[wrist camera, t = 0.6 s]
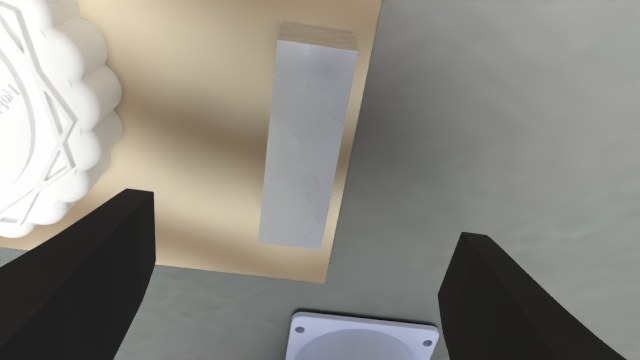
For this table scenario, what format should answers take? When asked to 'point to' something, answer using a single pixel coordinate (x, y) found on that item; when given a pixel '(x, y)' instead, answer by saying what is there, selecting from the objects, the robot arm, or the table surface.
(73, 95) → the mooncake
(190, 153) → the wooden cutting board
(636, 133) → the table surface
